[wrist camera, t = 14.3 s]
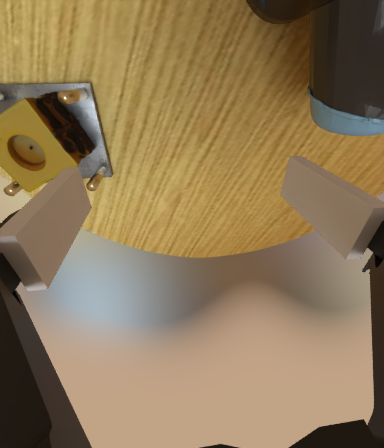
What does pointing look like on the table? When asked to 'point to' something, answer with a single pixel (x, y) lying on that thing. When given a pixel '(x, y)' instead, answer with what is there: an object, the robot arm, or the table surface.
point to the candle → (40, 140)
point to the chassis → (83, 112)
